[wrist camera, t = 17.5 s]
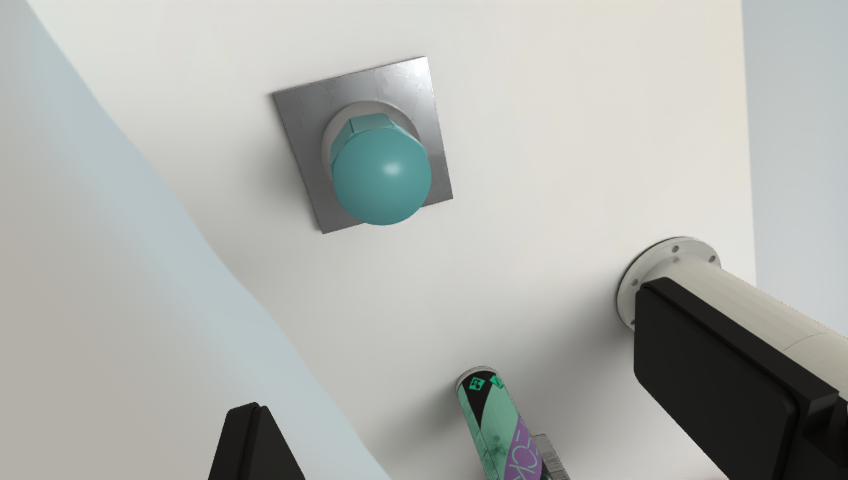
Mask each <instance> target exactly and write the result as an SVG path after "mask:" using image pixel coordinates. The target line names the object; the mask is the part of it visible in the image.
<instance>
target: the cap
mask: <svg viewBox="0 0 848 480" xmlns="http://www.w3.org/2000/svg"><path fill="white" fill-rule="evenodd" d="M330 169H331V173H332V178H333V183H334V189H335V193H336V195H337V199H338V203H339V204H340V205H341V206H343V207H344V209H345V210H346V211H347V212H348V213H349V214H351V215H352V216H353V217H355V218H356V219H358V220H360V221H362V222H365V223H368V224H372V225H391V224H395V223H398V222H401V221H403V220H405V219H407V218H409V217H410V216H411V215H413V214H414V213H415V212H416V211H417V210H418V209H419V208H420V207H421V206H422V204H423V203H424V201H425V199H426V197H427V195H428V192H429V190H430V186H431V169H430V164H429V161H428V158H427V153H426V149H425V147H424V146H423V145H422V144H421V143H420V142H419V141H418V140H417V139H416V138H415V137H414V136H413V135H412V134H411V133H410V132H409V131H407V130H406V129H405V128H403V127H402V126H401V125H399V124H398V123H397V122H395V121H394V120H393V119H391V118H390V117H389V116H387V115H386V114H385V113H384V114H383V113H376V114H370V115H364V116H358V117H352V118H350V119H348V120H347V122H346V123H345V125H344V126H343V128H342V129H341V131H340V132H339V134H338V135H337V137H336V138H335V140H334V141H333V143H332V144H331V147H330Z"/></svg>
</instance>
